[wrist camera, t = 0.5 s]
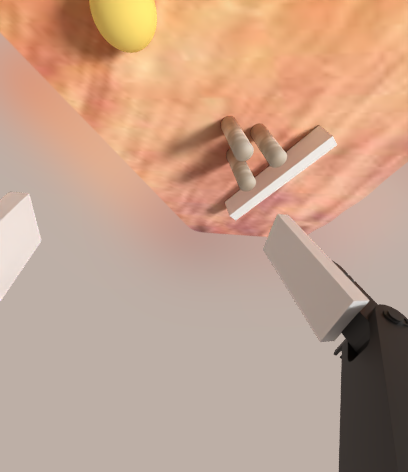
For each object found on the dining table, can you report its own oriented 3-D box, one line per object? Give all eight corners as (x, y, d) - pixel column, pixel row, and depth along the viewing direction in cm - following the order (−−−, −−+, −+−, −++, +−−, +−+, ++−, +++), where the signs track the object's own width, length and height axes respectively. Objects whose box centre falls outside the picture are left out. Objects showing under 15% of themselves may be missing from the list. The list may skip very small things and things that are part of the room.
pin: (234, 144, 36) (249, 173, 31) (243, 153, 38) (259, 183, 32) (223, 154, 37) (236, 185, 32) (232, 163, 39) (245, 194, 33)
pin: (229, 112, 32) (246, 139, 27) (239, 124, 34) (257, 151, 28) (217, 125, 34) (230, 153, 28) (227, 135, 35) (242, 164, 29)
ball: (115, -58, 20) (106, -68, 16) (167, 10, 24) (171, 15, 20) (83, 8, 23) (69, 14, 19) (135, 60, 27) (132, 74, 23)
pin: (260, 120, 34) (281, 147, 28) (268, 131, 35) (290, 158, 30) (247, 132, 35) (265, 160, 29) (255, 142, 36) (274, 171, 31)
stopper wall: (319, 124, 36) (332, 136, 33) (323, 133, 37) (337, 144, 34) (224, 202, 45) (229, 215, 42) (231, 206, 46) (235, 220, 43)
